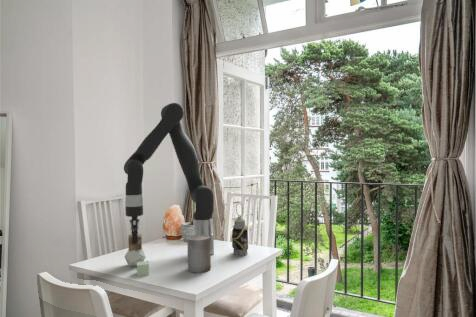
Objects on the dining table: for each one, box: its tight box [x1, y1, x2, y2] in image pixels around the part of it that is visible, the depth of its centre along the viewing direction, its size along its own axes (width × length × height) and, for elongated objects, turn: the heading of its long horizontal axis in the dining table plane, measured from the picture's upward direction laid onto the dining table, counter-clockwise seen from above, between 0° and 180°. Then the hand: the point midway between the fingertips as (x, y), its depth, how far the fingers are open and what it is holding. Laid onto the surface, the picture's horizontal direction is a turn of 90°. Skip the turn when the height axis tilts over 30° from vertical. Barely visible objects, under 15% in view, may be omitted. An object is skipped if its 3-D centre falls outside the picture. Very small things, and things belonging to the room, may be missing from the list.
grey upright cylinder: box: [186, 234, 212, 274], centre depth 149 cm, size 10×10×15 cm
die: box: [123, 248, 146, 268], centre depth 156 cm, size 8×9×10 cm
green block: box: [136, 260, 150, 277], centre depth 144 cm, size 4×4×4 cm
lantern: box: [231, 202, 249, 256], centre depth 171 cm, size 9×8×25 cm
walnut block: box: [127, 233, 143, 250], centre depth 156 cm, size 6×6×6 cm
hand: (135, 241), depth 156 cm, fingers open, 8 cm apart
